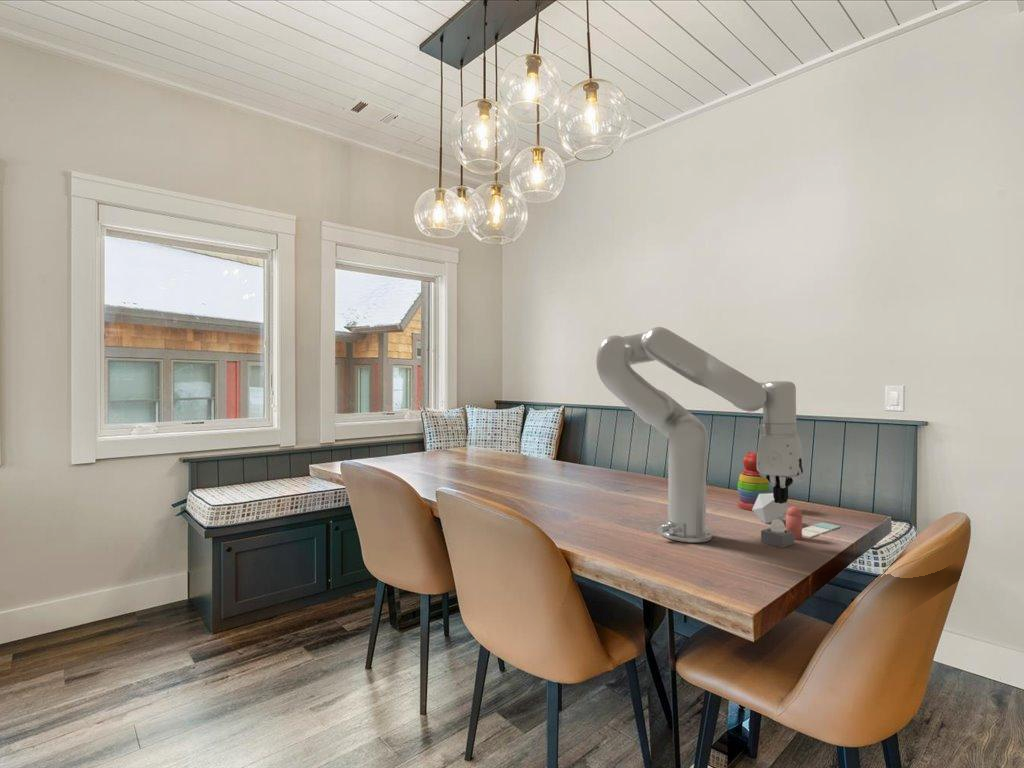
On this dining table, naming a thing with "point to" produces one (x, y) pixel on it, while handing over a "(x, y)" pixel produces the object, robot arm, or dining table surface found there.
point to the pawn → (794, 522)
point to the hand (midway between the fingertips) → (780, 502)
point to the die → (769, 508)
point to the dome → (777, 526)
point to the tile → (826, 526)
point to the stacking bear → (751, 483)
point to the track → (813, 531)
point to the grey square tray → (777, 538)
